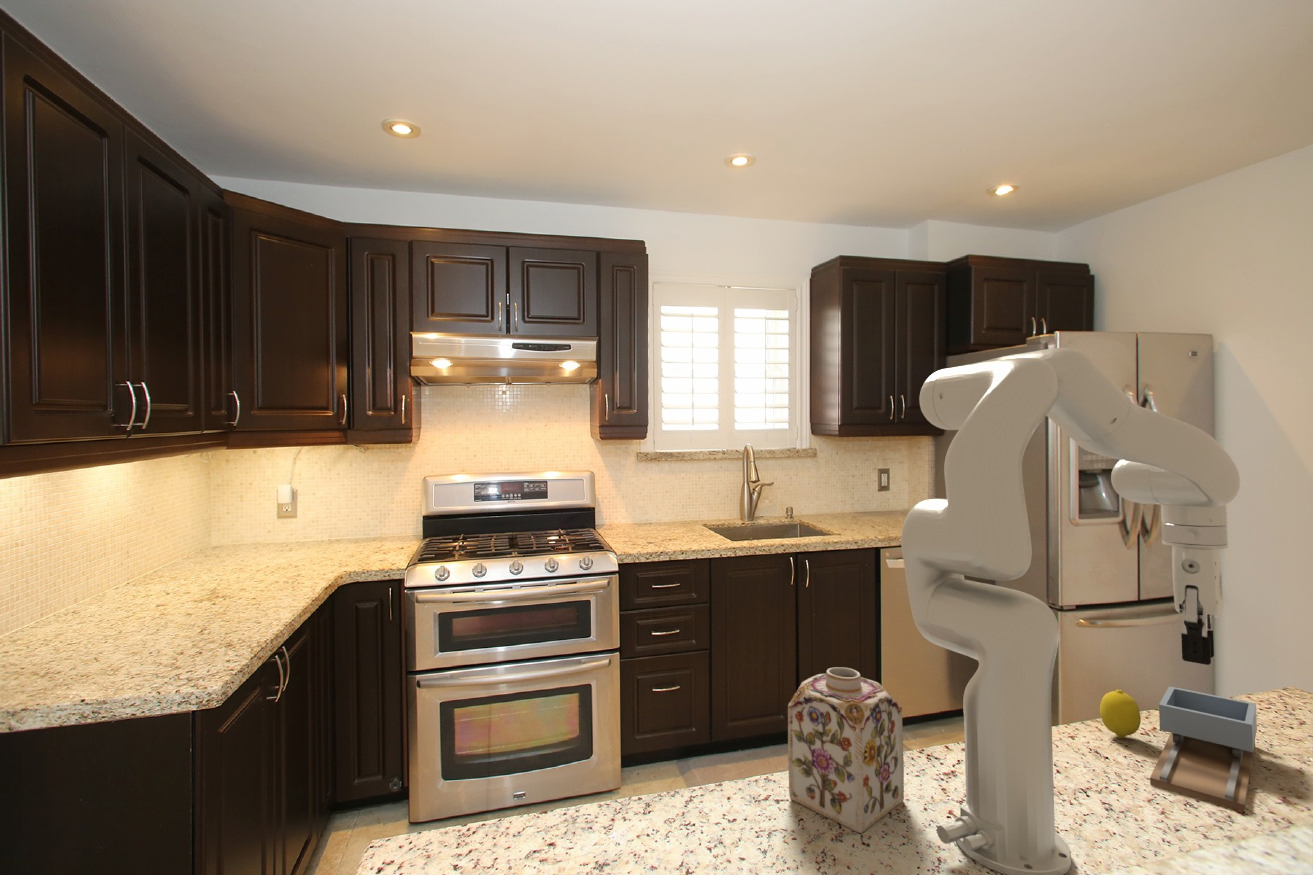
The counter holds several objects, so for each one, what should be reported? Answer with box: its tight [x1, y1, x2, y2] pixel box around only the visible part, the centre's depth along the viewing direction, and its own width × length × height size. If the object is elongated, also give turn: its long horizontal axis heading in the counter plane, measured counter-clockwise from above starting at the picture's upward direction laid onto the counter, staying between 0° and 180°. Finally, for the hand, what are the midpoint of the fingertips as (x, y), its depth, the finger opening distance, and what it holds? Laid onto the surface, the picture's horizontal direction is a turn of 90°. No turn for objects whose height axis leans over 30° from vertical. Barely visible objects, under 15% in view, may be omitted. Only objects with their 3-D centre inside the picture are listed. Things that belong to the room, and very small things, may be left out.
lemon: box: [1099, 689, 1142, 739], centre depth 106 cm, size 6×6×8 cm
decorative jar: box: [787, 666, 905, 834], centre depth 89 cm, size 12×12×18 cm
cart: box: [1158, 685, 1258, 759], centre depth 100 cm, size 11×11×6 cm
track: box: [1149, 732, 1256, 813], centre depth 97 cm, size 26×10×4 cm, turn 134°
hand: (1198, 657), depth 95 cm, fingers open, 3 cm apart
